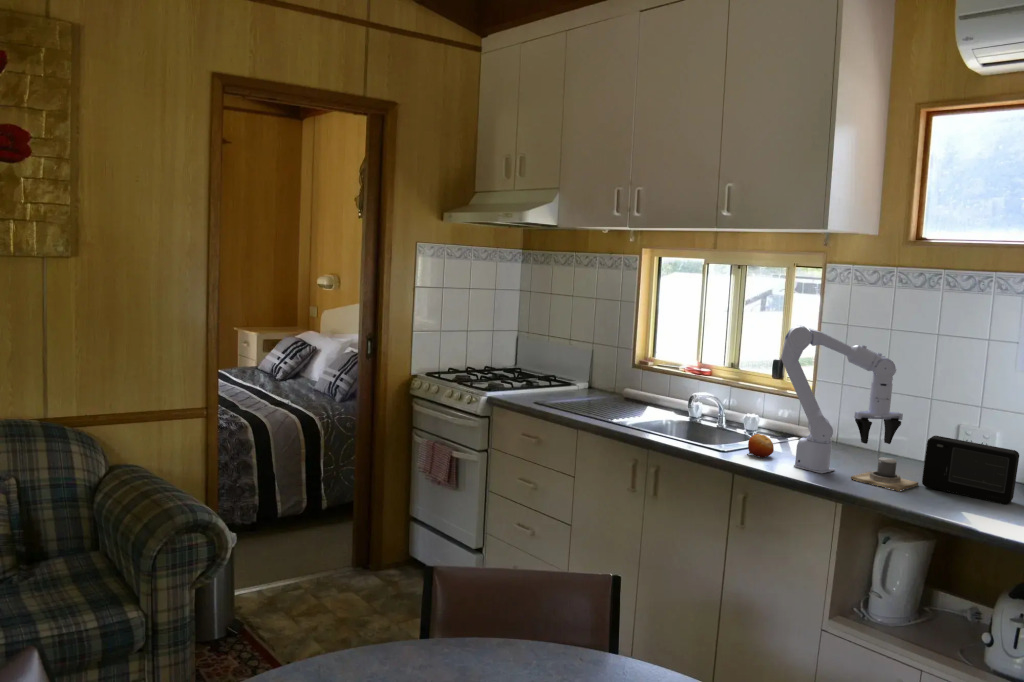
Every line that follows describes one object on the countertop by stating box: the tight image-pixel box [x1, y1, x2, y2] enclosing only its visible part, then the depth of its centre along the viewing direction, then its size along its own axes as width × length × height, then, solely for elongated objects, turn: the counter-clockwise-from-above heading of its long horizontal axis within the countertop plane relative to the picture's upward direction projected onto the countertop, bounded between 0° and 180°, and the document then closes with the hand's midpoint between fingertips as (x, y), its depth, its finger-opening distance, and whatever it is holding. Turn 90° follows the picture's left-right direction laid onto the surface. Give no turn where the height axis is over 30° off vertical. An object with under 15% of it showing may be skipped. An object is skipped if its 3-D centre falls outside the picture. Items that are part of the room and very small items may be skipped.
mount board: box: [850, 470, 919, 492], centre depth 244 cm, size 14×12×2 cm
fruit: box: [746, 433, 774, 459], centre depth 269 cm, size 8×8×8 cm
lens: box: [876, 457, 897, 478], centre depth 243 cm, size 5×5×6 cm
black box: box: [921, 435, 1020, 505], centre depth 236 cm, size 23×10×15 cm, turn 50°
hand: (875, 443), depth 251 cm, fingers open, 7 cm apart
